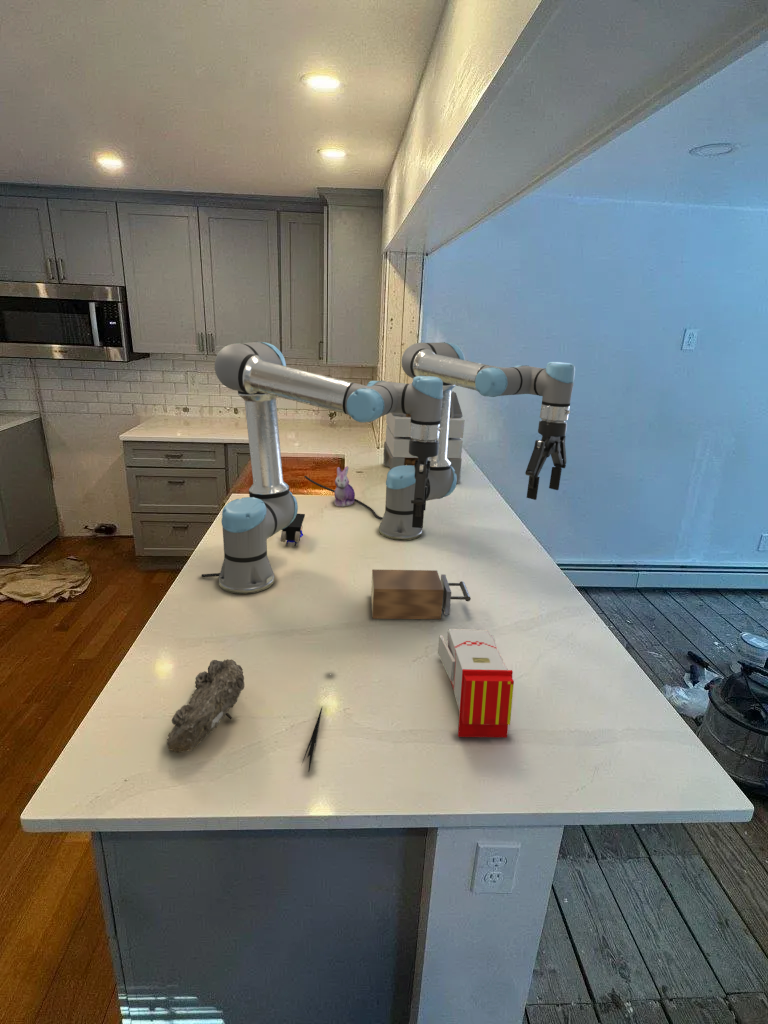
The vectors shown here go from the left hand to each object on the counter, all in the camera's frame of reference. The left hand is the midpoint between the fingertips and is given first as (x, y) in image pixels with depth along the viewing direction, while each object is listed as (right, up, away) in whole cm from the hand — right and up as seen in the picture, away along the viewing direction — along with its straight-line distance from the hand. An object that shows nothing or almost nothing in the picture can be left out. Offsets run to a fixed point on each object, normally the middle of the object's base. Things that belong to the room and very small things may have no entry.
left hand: (418, 518), depth 150 cm
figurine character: (-40, -8, +40) cm, 57 cm away
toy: (+9, -36, -32) cm, 49 cm away
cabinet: (-4, -24, 0) cm, 24 cm away
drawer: (+2, -23, 0) cm, 23 cm away
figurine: (-25, +5, +78) cm, 82 cm away
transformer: (+8, +20, +125) cm, 127 cm away
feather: (-22, -38, -42) cm, 60 cm away
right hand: (+37, +7, +13) cm, 39 cm away
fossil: (-42, -37, -42) cm, 70 cm away
